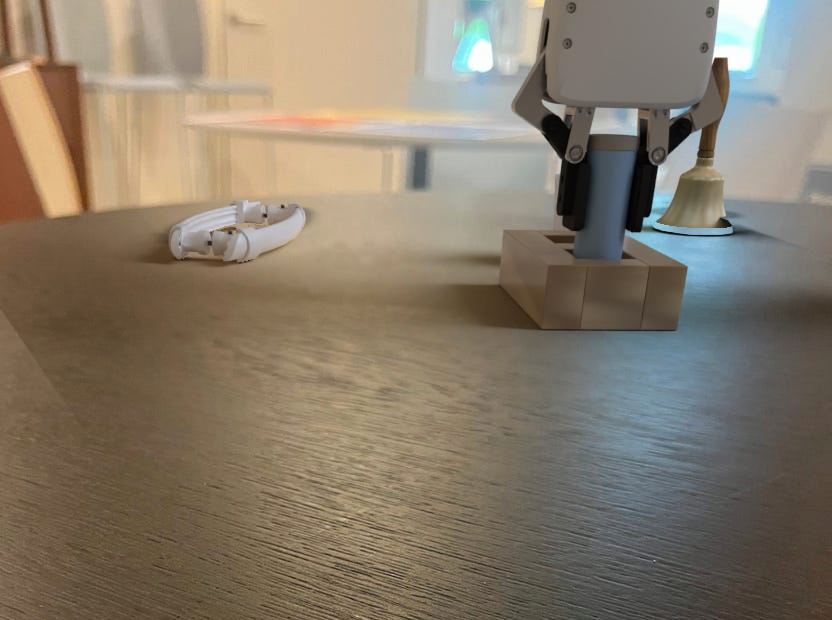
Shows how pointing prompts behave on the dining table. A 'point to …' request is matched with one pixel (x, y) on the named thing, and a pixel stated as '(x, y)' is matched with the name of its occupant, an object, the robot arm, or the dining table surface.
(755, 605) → the dining table surface
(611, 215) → the cylindrical bottle
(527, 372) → the dining table surface
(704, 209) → the hand bell
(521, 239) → the holder
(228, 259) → the white oval frame
